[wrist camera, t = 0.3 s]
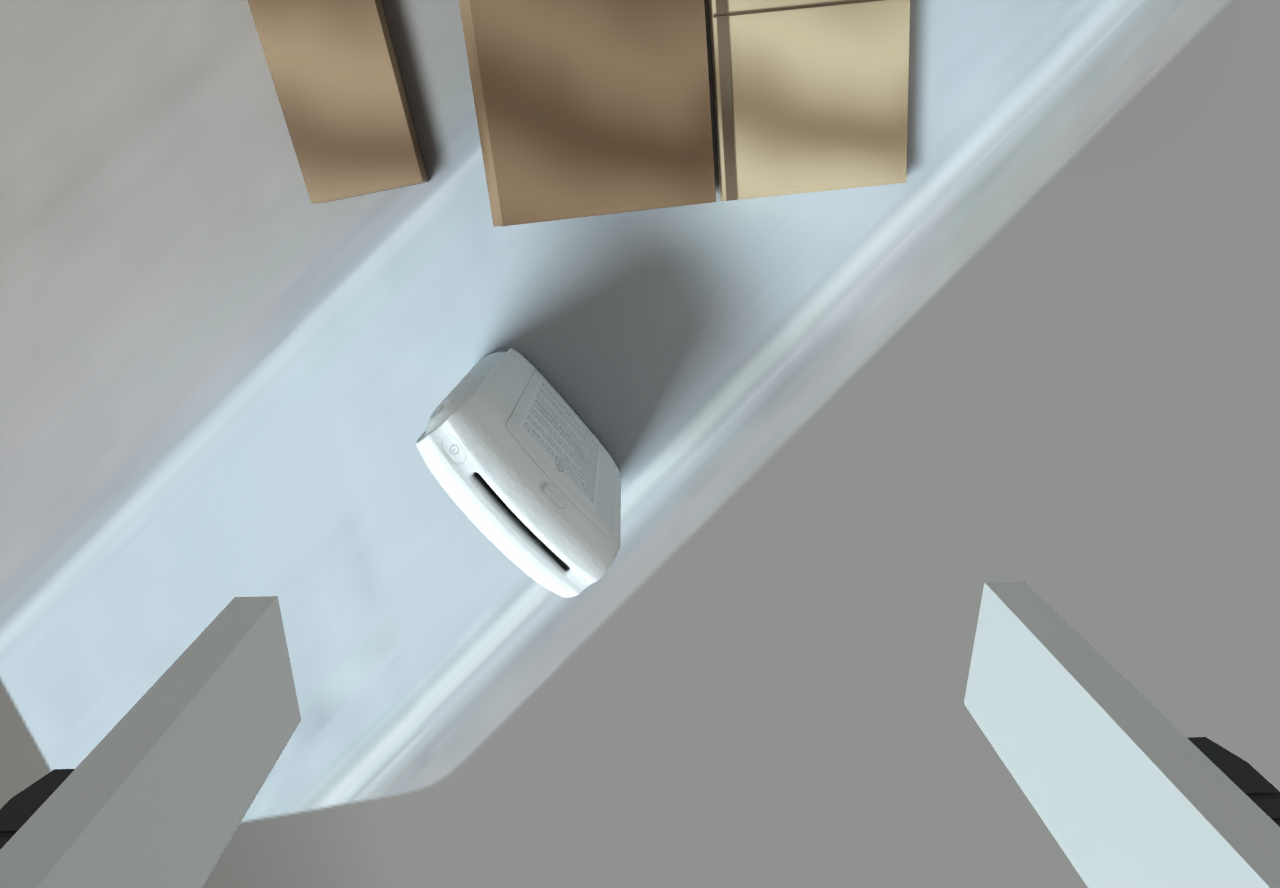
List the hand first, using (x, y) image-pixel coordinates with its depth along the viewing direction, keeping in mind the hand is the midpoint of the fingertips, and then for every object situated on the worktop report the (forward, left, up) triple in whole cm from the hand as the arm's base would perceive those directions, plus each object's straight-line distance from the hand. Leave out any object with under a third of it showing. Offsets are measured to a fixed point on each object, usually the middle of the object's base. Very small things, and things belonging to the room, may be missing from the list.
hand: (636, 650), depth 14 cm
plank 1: (-19, -12, -27) cm, 36 cm away
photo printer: (+4, -5, -27) cm, 28 cm away
